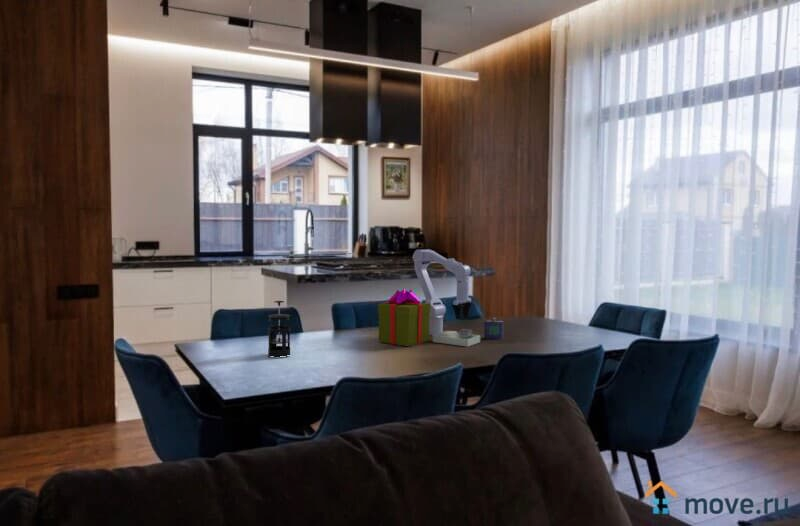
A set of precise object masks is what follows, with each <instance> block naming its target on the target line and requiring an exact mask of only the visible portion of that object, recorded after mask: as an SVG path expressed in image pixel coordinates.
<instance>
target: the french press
mask: <svg viewBox="0 0 800 526" xmlns="http://www.w3.org/2000/svg"><path fill="white" fill-rule="evenodd" d="M273 302H274V303H275V304H277V306H278V313H276V314H275V313H274V314H268V319H269V321H268V322H271V323H277V322H278V325H270V326H268V327H267V328H268V329H267V330H268V352H267V353H268V354H267V356H268V355H269V356H274V357H280V356H287V355H290V354H291V342H290V341H291V339H290V338H291V336H290V335H291V326H290V325H280V323H281V320H284V321H285V320H287V321H289V322H290V317H291V314H286V313H281V311H280V310H281V309H280V306H281V303H285V301H284V300H275V301H273ZM277 334H278V335H277ZM277 337H278V338H277Z"/></svg>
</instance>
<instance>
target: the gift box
mask: <svg viewBox="0 0 800 526" xmlns="http://www.w3.org/2000/svg"><path fill="white" fill-rule="evenodd" d="M418 298H419V297H417V296H416V295H415V294H414V293H413V289H410V290H409V291H408V290H406V289H405V288H403V289H402V290H398V289H396V291H395V293H393V294H392V296H391V297H390V298H389V299H388V301H385V302H383V301H382V302H381V303H378V304H377V313H378V342H379V343H386V344H390V345H393V344H394V345H395V344H398V346H406V347H410V346H414V345H420V344H421V343H424V342H427V341H430V335H429V314H430V303H426V302H421V300H419V299H418ZM394 345H393V346H394ZM395 346H396V345H395Z"/></svg>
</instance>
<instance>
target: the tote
mask: <svg viewBox="0 0 800 526" xmlns="http://www.w3.org/2000/svg"><path fill="white" fill-rule="evenodd" d="M481 338H482V337H481V335H478V334H472V338H470V339H459V332H457V338H452V337H444V336H439V334H436V335H433V336H432V343H437V344H438V343H440V344H446V345H454V346H461V347H469V346H473V345H475V344H478V343H481Z"/></svg>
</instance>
